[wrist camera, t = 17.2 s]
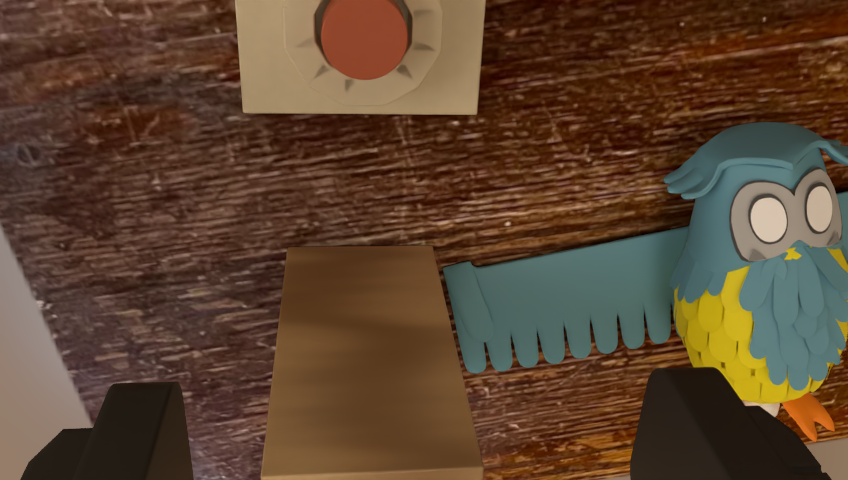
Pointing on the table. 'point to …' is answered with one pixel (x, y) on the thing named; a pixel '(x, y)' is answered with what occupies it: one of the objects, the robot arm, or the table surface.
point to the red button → (364, 37)
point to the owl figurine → (695, 277)
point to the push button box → (339, 94)
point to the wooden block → (367, 371)
